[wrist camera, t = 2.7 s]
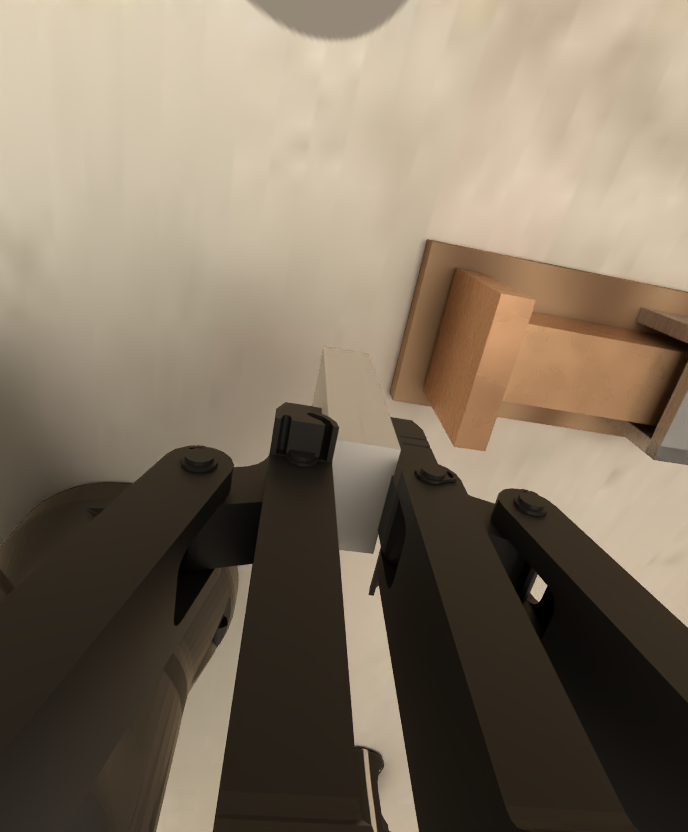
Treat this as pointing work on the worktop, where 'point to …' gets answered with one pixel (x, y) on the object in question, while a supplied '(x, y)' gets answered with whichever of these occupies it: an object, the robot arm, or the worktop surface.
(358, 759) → the battery charger
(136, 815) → the robot arm
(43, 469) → the worktop surface
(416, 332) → the board
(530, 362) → the wood grain post
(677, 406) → the grey concrete cube
